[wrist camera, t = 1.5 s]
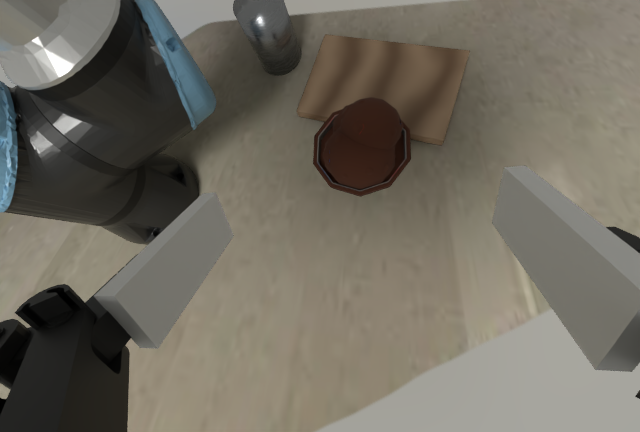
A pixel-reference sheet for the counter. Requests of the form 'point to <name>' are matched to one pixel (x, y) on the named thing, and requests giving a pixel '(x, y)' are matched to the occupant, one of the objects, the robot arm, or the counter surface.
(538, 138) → the counter surface
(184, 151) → the counter surface
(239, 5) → the metal tin
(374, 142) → the ice cream bowl
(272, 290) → the counter surface
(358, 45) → the walnut board
